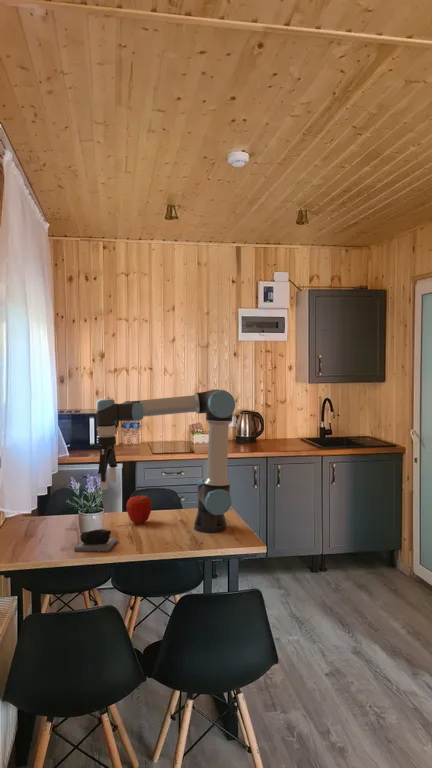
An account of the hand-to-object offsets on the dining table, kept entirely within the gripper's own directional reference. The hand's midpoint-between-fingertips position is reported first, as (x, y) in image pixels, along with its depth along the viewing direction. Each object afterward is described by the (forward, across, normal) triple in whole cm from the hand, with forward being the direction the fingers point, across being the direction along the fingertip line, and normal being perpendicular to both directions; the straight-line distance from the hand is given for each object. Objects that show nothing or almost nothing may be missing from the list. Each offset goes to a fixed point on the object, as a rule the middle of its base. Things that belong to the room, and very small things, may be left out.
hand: (108, 485), depth 237 cm
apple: (+25, -32, +6) cm, 41 cm away
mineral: (+23, +4, -5) cm, 24 cm away
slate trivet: (+24, +4, -5) cm, 25 cm away
